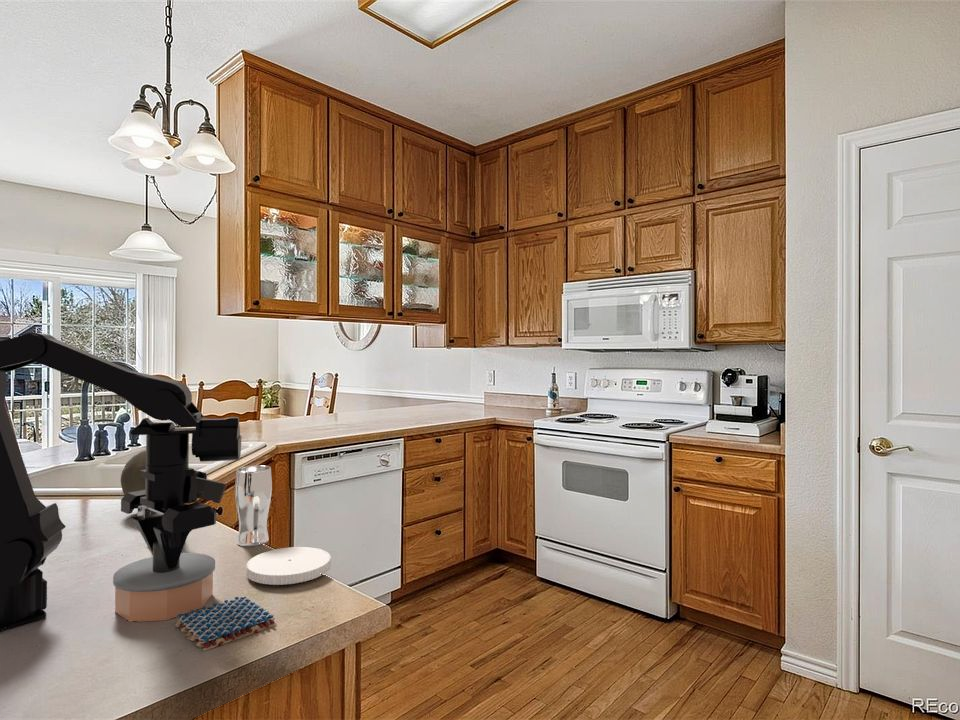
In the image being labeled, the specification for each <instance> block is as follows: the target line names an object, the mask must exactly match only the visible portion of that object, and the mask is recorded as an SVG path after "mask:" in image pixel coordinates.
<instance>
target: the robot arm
mask: <svg viewBox="0 0 960 720" xmlns="http://www.w3.org/2000/svg"><path fill="white" fill-rule="evenodd" d="M35 363H38V364H40V365H43V366H46V367H48V368H50V369H53V370H56V371H58V372H61V373H63V374H65V375H68V376H70V377H72V378H75V379H77V380H81V381H83V382H86V383H88V384H90V385H94V386H95V387H98V388H101V389H104V390H105V391H109V392H111V393H113V394H116V395H117V396H118V397H120V398H122V399H124V400H125V401H126V402H128V403H129V404H130V405H131V406H133V407H134V408H136V409H137V410H139V411H141V412H142V413H143V414H145V415H147V416H149V417H150V418H152V419H154V420H158V421H164V422H154V421H152V420H151V419H150V418H149V417H145V418H143V419H141V421H140V423H139V424H137V426H136V427H135V428H133V429H131V430H130V435H132V436H146V437H145V438H146V439H145V441H146V442H145V451H146V470H141V472H140V477H142V478H146V490H141V491H135V492H129V493H127V494H126V495H124V496H123V497H122V498H120V512H122V513H125V514H126V515H129V514H132V513H133V511H134V509H137V515H136V516H132V517H131V520H132V522H134V524H135V525H136V526H135V527H136V528H137V530H138V531H139V533H140V534H141V536H142V538H143V540H144V542H145V544H146V546H147V548H148V549H149V551H150V554H151V556H153V543H154V542H156V541H158V543H159V546H160V548H161V551H162V554H163V557H164V560H165V562H166V565H167V567H168V568H169V569H172V568H175V567H176V566H177V563H178V561H179V558H180V555H181V553H183V549H184V547H185V546H184V545H185V543H186V541H187V539H188V536H189V534H190V533H191V532H192V531H193V530H197V529H202V528H206V527H210V526H214V525H216V524H217V510H216V509H215V508H213V507H212V506H211V505H208V504H207V503H206V504H205V503H203V502H199V501H198V499H200V500H205V501H211V502H213V503H216V504H221V501H222V499H223V496H224V494H225V490H226V488H227V483H225V482H224V483H223V482H220V481H217V480H212V479H209V478H208V477H207V476H208V475H207V473H206V472H205V471H201V470H195V469H194V468H193V467H190V466H189V459H190V458H189V456H190V455H189V454H190V435H191V455H192V456H195V457H194V458H199V461H200V462H205V463H206V462H222V461H223V462H228V461H240V460H241V454H242V435H241V429H240V428H241V427H240V417H239V416H229V417H224V418H206V417H205V415H204V414H203V413H202V412H201V411H200V410H199V409H198V406H196V404H195V403H194V402H193V401H192V400H193V395H192V392H191V390H190V388H189V386H188V385H186V384H185V383H183V382H181V381H179V380H175V379H170V378H166V377H162V376H159V375H152V374H149V373H143V372H138V371H136V370H135V371H134V370H131V369H129V368H127V367H124V366H122V365H119V364H117V363H114V362H112V361H110V360H107V359H104V358H102V357H100V356H97V355H95V354H93V353H90V352H88V351H85V350H83V349H80V348H78V347H75V346H73V345H71V344H69V343H66V342H64V341H61V340H58V339H57V338H56V337H54V336H53V335H51V334H48V333H42V332H26V333H23V334H22V335H20V336H15V337H12V338H8V339H3V340H0V632H1V631H3V630H7V629H10V628H14V627H17V626H20V625H23V624H24V625H25V624H27V623H30V622H34V621H38V620H42V619H43V618H46V617H47V612H46V611H45V610H46V609H47V607H48V580H46V579H44V577H43V576H44V575H43V574H44V573H43V571H42V570H41V569H39V568H40V567H41V566H42V565H44V564H45V563H46V560H47V558H48V556H49V555H51V553H53V552H54V551H55V550H56V549H57V548H58V547H59V546H60V544H61V541H62V539H63V530H64V529H66V527H67V526H66V525H65V524H64V523H63V521H62V520H61V518H60V514H59V507H58V504H57V503H56V502H54V503H52V504H50V505H47V506H45V504H44V503H43V502H41V501H40V500H39V499H38V497H37V496H36V494H35V492H34V488H33V485H32V482H31V479H30V478H29V477H30V476H29V475H28V470H27V468H26V466H25V461H24V460H23V455H22V453H21V450H20V447H19V445H18V441H17V438H16V436H15V432H14V430H13V429H14V428H13V427H12V424H11V421H10V418H9V416H8V412H7V409H6V406H5V400H6V395H7V387H8V380H7V373H9V372H13V371H15V370H19V369H21V368H24V367H27V366H30V365H34V364H35ZM165 421H169V422H165ZM170 421H171V422H170ZM175 425H177V426H179V427H176V426H175Z"/></svg>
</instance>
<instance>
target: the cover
mask: <svg viewBox="0 0 960 720" xmlns="http://www.w3.org/2000/svg"><path fill="white" fill-rule="evenodd" d="M215 570H216V560H215V559H214V557H212V556H210V555H208V554H204V553H199V552H181V555H180V558H179V561H178V563H177V566H176V567H175V568H172V569H169V568H168V567H167V565H166V562H165V560H164V557H163V554H162V551H161V548H160V546H159V543H158V541H156V542H154V543H153V555H152V556H150V557H147V558H142V559H139V560H136V561H133V562H130V563H128V564H126V565H124V566H122V567H120V568H119V569H117V570H116V571H115V572H114V573H113V575H112V584H113V586H114V587H116V588H118V589H121V590H125V591H132V592H151V591H161V590H167V589H173V588H177V587H181V586H185V585H188V584H191V583H194V582H197V581H199V580H201V579H204V578H205V577H207V576H209V575H210V574H211V573H212V572H213V573H214V571H215Z"/></svg>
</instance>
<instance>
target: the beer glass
mask: <svg viewBox="0 0 960 720" xmlns="http://www.w3.org/2000/svg"><path fill="white" fill-rule="evenodd" d="M272 480H273V479H272V467H271V466H268V465H247V466H241V467H238V468H237V469H236V475H235V484H234V486H235V487H234V496H235V507H236V512H237V517H238V527H239V528H238V534H237V539H236V544H237V546H239V545H240V547H245V546H246V547H245V548H247V547H256V546H257V547H258V546H261V544H262V545H264V544H266V543H268V542H269V533H268V517H269V510H270V505H271V498H272V491H273V481H272ZM253 540H254V541H253ZM259 543H260V544H259Z"/></svg>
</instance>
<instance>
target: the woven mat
mask: <svg viewBox="0 0 960 720" xmlns="http://www.w3.org/2000/svg"><path fill="white" fill-rule="evenodd" d="M223 602H224V603H219V604H217V602H214V603H213V604H212V605H213V606H209V607H206V606H203V607H202V608H201V609H198V610H195V611H194V610H192V611H190V612H189V613H186V614H183V615H182V614H178V616H177V617H179V619H177V622H175V625H174V626H176V628H180V629H182V630H180V631H181V632H182V633H184V634H186V635H187V639H188V640H190V641H192V642H196V647H198V648H203V647H204V648H203V649H202V651H207V650H210V649H214V648H217V647H218V646H222V645H225V644H228V643H230V642H233V641H235V640H238V639H242V638H245V637H247V636H250V635H252V634H256V633H259V632H261V631H265V630H267V629H269V628H272V627H274V626H277V622H275V619H276V617H275V614H273V613H270V612H269V610H267V609H266V608H264V607H261V606H260V605H259V604H257V603H256V602H254V601H252V600H251V599H250V598H248V597H247V596H240V597H239V596H235V597H234V599H231V600H229V599H226V600H225V599H224V601H223ZM182 626H183V627H182Z"/></svg>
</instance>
